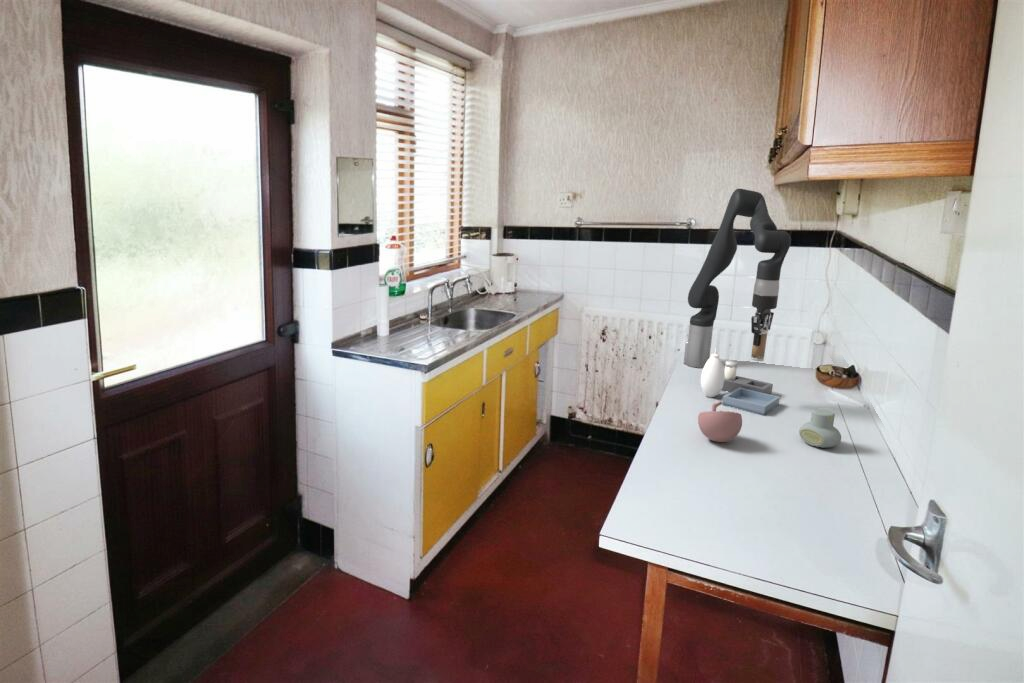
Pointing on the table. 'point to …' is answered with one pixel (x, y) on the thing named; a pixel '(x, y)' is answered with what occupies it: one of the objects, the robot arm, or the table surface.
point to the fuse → (730, 370)
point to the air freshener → (820, 429)
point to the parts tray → (751, 401)
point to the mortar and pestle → (720, 424)
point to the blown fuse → (759, 348)
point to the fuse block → (747, 385)
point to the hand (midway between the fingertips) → (759, 344)
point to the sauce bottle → (712, 376)
